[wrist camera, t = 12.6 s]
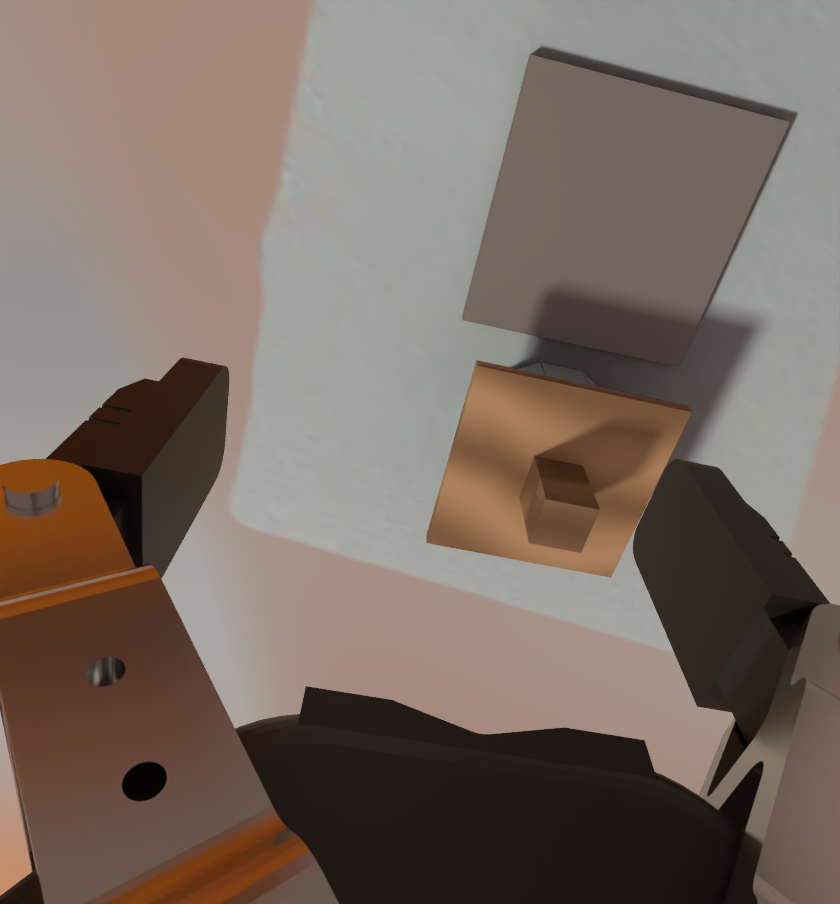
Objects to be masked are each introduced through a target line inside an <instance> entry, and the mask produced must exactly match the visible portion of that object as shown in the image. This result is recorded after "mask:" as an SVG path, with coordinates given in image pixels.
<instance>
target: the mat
mask: <svg viewBox="0 0 840 904" xmlns="http://www.w3.org/2000/svg"><path fill="white" fill-rule="evenodd" d="M789 123H790V122H789V121H785V120H781V119H777V118H773V117H770V116H766V115H762V114H758V113H754V112H750V111H746V110H743V109H739V108H735V107H731V106H727V105H723V104H719V103H716V102H712V101H708V100H704V99H700V98H696V97H693V96H689V95H685V94H681V93H677V92H673V91H669V90H666V89H662V88H658V87H654V86H650V85H646V84H642V83H639V82H635V81H631V80H627V79H623V78H619V77H616V76H612V75H608V74H604V73H600V72H596V71H592V70H589V69H585V68H581V67H577V66H573V65H569V64H565V63H562V62H558V61H554V60H550V59H546V58H542V57H538V56H535V55H530V56H529V60H528V64H527V68H526V72H525V76H524V79H523V83H522V87H521V91H520V95H519V99H518V103H517V107H516V110H515V114H514V118H513V122H512V126H511V130H510V134H509V138H508V141H507V145H506V149H505V153H504V157H503V161H502V165H501V169H500V172H499V176H498V180H497V184H496V188H495V192H494V196H493V200H492V203H491V207H490V211H489V215H488V219H487V223H486V227H485V231H484V234H483V238H482V242H481V246H480V250H479V254H478V258H477V262H476V265H475V269H474V273H473V277H472V281H471V285H470V289H469V293H468V296H467V300H466V304H465V308H464V312H463V316H462V319H463V320H465V321H470V322H474V323H479V324H484V325H488V326H493V327H497V328H502V329H507V330H511V331H516V332H520V333H525V334H530V335H534V336H539V337H543V338H548V339H553V340H557V341H562V342H566V343H571V344H575V345H580V346H585V347H589V348H594V349H598V350H603V351H608V352H612V353H617V354H621V355H626V356H631V357H635V358H640V359H644V360H649V361H654V362H658V363H663V364H667V365H672V366H677V367H679V365H680V363H681V360H682V358H683V356H684V354H685V352H686V349H687V347H688V345H689V343H690V341H691V338H692V336H693V334H694V332H695V330H696V328H697V325H698V323H699V321H700V319H701V317H702V314H703V312H704V310H705V308H706V306H707V303H708V301H709V299H710V297H711V295H712V292H713V290H714V288H715V286H716V284H717V281H718V279H719V277H720V275H721V273H722V270H723V268H724V266H725V264H726V262H727V259H728V257H729V255H730V253H731V251H732V248H733V246H734V244H735V242H736V240H737V237H738V235H739V233H740V231H741V229H742V227H743V224H744V222H745V220H746V218H747V216H748V213H749V211H750V209H751V207H752V205H753V202H754V200H755V198H756V196H757V194H758V191H759V189H760V187H761V185H762V183H763V180H764V178H765V176H766V174H767V172H768V169H769V167H770V165H771V163H772V161H773V158H774V156H775V154H776V152H777V150H778V147H779V145H780V143H781V141H782V139H783V136H784V134H785V132H786V130H787V128H788V125H789Z"/></svg>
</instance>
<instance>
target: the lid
mask: <svg viewBox="0 0 840 904" xmlns="http://www.w3.org/2000/svg"><path fill="white" fill-rule="evenodd" d="M691 413H692V411H691V410H690V409H689V408H688V406H685V405H681V404H676V403H671V402H667V401H662V400H658V399H653V398H648V397H644V396H639V395H634V394H630V393H625V392H621V391H616V390H611V389H607V388H602V387H598V386H593V385H588V384H584V383H579V382H574V381H570V380H565V379H561V378H556V377H551V376H547V375H542V374H538V373H533V372H528V371H524V370H519V369H514V368H510V367H505V366H501V365H496V364H491V363H487V362H482V361H478V360H476V364H475V367H474V371H473V374H472V378H471V381H470V385H469V388H468V392H467V395H466V399H465V402H464V406H463V409H462V413H461V416H460V420H459V423H458V427H457V430H456V434H455V437H454V441H453V444H452V448H451V451H450V455H449V458H448V462H447V465H446V469H445V473H444V476H443V480H442V483H441V487H440V490H439V494H438V497H437V501H436V504H435V508H434V511H433V515H432V518H431V522H430V525H429V529H428V532H427V543H430V544H435V545H441V546H446V547H451V548H457V549H462V550H467V551H473V552H478V553H483V554H489V555H494V556H500V557H505V558H510V559H516V560H521V561H526V562H532V563H537V564H542V565H548V566H553V567H558V568H564V569H569V570H574V571H580V572H585V573H590V574H596V575H601V576H606V577H611V576H612V574H613V572H614V570H615V568H616V566H617V564H618V562H619V560H620V558H621V556H622V554H623V552H624V550H625V548H626V546H627V544H628V542H629V540H630V538H631V536H632V534H633V531H634V529H635V527H636V525H637V523H638V521H639V519H640V517H641V515H642V513H643V511H644V509H645V507H646V505H647V503H648V501H649V499H650V497H651V495H652V493H653V491H654V489H655V487H656V485H657V483H658V481H659V479H660V477H661V474H662V472H663V470H664V468H665V466H666V464H667V462H668V460H669V458H670V456H671V454H672V452H673V450H674V448H675V446H676V444H677V442H678V440H679V438H680V436H681V434H682V432H683V430H684V428H685V426H686V424H687V422H688V420H689V417H690V415H691Z"/></svg>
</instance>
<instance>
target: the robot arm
mask: <svg viewBox="0 0 840 904" xmlns="http://www.w3.org/2000/svg"><path fill="white" fill-rule="evenodd" d="M228 392H229V371H228V368H227V367H226V366H222V365H217V364H212V363H207V362H202V361H197V360H192V359H187V358H181V359H180V360H179V361H178V362H177V363H176V364H175V365H174V366H173V367H172V368H171V369H170V370H169V371H168V372H167V373H166V374H165V376H164V377H163V378H162V379H161V380H160V381H153V380H149V379H143V380H140V381H138V382H135V383H133V384H130V385H128V386H125V387H123V388H120V389H118V390H117V391H116V392H115V393H114V394H113V395H112V396H111V397H110V398H109V399H108V400H107V401H106V402H105V403H104V404H103V405H102V408H98V409H97V410H96V411H95V412H94V413H93V414H92V415H91V416H90V417H89V421H85V422H84V423H83V424H82V425H80V426H79V427H78V428H77V429H76V430H75V431H74V432H73V433H72V434H71V435H70V436H69V437H68V438H67V439H66V440H65V441H64V442H63V443H62V444H61V445H60V446H59V447H58V448H57V449H56V450H54V451H53V452H52V453H51V455H49V456H48V457H47V458H46V459H30V460H21V461H15V462H10V463H6V464H2V465H0V712H1V716H2V721H3V726H4V732H5V737H6V742H7V747H8V752H9V757H10V762H11V767H12V772H13V777H14V782H15V787H16V792H17V797H18V802H19V808H20V813H21V818H22V824H23V829H24V834H25V840H26V845H27V850H28V855H29V860H30V865H31V870H32V872H31V873H30V874H29V875H27V876H26V877H25V878H23V879H22V880H21V881H19V882H18V883H17V884H16V885H14V886H13V887H12V888H10V889H9V890H8V891H6V892H5V893H4V894H2V895H1V896H0V904H840V606H839V605H834V604H830V603H829V601H828V600H827V599H826V598H825V596H824V595H823V594H822V592H821V591H820V590H819V588H818V587H817V586H816V584H815V583H814V582H813V580H812V579H811V578H810V576H809V575H808V574H807V573H806V571H805V570H804V569H803V567H802V566H801V565H800V563H799V562H798V561H797V560H796V558H793V557H791V555H792V553H791V552H790V550H789V549H788V548H787V547H786V545H785V544H784V543H783V541H779V538H780V537H779V536H778V535H777V534H776V532H775V531H774V530H773V528H772V527H771V526H770V524H769V523H768V522H767V520H766V519H765V518H764V517H763V516H762V515H760V514H759V513H758V512H757V511H755V510H754V509H753V508H752V507H750V506H749V505H748V504H747V503H745V501H744V500H743V499H742V497H741V496H740V495H739V493H738V492H737V491H736V489H735V488H734V487H733V485H732V484H731V483H730V481H729V480H728V479H727V477H726V476H725V475H724V473H723V472H722V471H721V470H720V469H719V468H717V467H713V466H708V465H703V464H698V463H694V462H689V461H684V460H679V459H677V460H674V461H672V462H671V463H670V464H669V465H668V466H667V467H666V469H665V471H664V472H663V474H662V477H661V479H660V481H659V483H658V485H657V487H656V489H655V491H654V493H653V495H652V497H651V499H650V501H649V503H648V505H647V507H646V509H645V511H644V514H643V516H642V518H641V520H640V522H639V524H638V526H637V528H636V532H635V535H634V541H633V553H634V558H635V561H636V564H637V566H638V568H639V571H640V573H641V575H642V578H643V580H644V583H645V585H646V587H647V590H648V592H649V594H650V597H651V599H652V601H653V604H654V606H655V608H656V611H657V613H658V615H659V618H660V620H661V622H662V625H663V627H664V629H665V632H666V634H667V637H668V639H669V641H670V644H671V646H672V648H673V651H674V653H675V655H676V657H677V660H678V662H679V665H680V667H681V669H682V672H683V674H684V676H685V679H686V681H687V683H688V686H689V688H690V691H691V693H692V695H693V697H694V700H695V702H696V705H697V707H704V708H709V709H716V710H722V711H728V712H732V713H733V715H734V720H733V721H732V723H731V724H730V725H729V727H728V728H727V729H726V731H725V733H724V734H723V737H722V739H721V741H720V744H719V746H718V749H717V751H716V754H715V756H714V759H713V761H712V764H711V766H710V769H709V771H708V774H707V776H706V779H705V781H704V784H703V786H702V788H701V791H700V794H699V796H698V795H697V794H695V793H694V792H692V791H690V790H689V789H687V788H686V787H684V786H682V785H681V784H679V783H677V782H675V781H673V780H671V779H669V778H667V777H665V776H663V775H661V774H658V773H656V772H654V768H653V765H652V762H651V759H650V756H649V753H648V750H647V747H646V744H645V741H644V740H638V739H632V738H626V737H620V736H614V735H607V734H601V733H595V732H588V731H582V730H576V729H570V728H555V729H544V730H533V731H522V732H511V733H501V734H489V735H488V734H487V735H485V734H478V733H475V732H471V731H469V730H466V729H464V728H461V727H458V726H456V725H454V724H451V723H449V722H446V721H444V720H441V719H438V718H436V717H433V716H430V715H428V714H426V713H423V712H421V711H418V710H416V709H413V708H411V707H408V706H406V705H403V704H401V703H398V702H395V701H393V700H388V699H382V698H376V697H369V696H363V695H357V694H351V693H344V692H338V691H332V690H326V689H319V688H312V687H307V686H306V689H305V694H304V698H303V703H302V708H301V712H300V714H297V715H286V716H279V717H274V718H268V719H263V720H259V721H256V722H253V723H250V724H247V725H244V726H241V727H238V728H236V729H235V728H234V726H233V724H232V722H231V720H230V718H229V716H228V714H227V712H226V710H225V708H224V706H223V704H222V702H221V700H220V698H219V695H218V693H217V691H216V689H215V687H214V685H213V683H212V681H211V679H210V677H209V675H208V673H207V671H206V669H205V667H204V665H203V663H202V661H201V659H200V657H199V655H198V653H197V651H196V649H195V647H194V645H193V643H192V641H191V638H190V636H189V634H188V633H187V630H186V628H185V626H184V624H183V622H182V620H181V618H180V616H179V614H178V612H177V610H176V608H175V606H174V604H173V602H172V600H171V598H170V596H169V594H168V592H167V590H166V588H165V586H164V584H163V582H162V580H161V578H162V577H163V575H164V573H165V571H166V570H167V568H168V566H169V564H170V562H171V561H172V559H173V557H174V555H175V553H176V551H177V550H178V548H179V546H180V544H181V542H182V540H183V539H184V537H185V535H186V533H187V532H188V530H189V528H190V526H191V524H192V523H193V521H194V519H195V517H196V515H197V514H198V512H199V510H200V508H201V506H202V504H203V503H204V501H205V499H206V497H207V495H208V494H209V492H210V490H211V488H212V486H213V484H214V483H215V481H216V479H217V476H218V474H219V471H220V467H221V464H222V460H223V455H224V447H225V435H226V420H227V406H228Z"/></svg>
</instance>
